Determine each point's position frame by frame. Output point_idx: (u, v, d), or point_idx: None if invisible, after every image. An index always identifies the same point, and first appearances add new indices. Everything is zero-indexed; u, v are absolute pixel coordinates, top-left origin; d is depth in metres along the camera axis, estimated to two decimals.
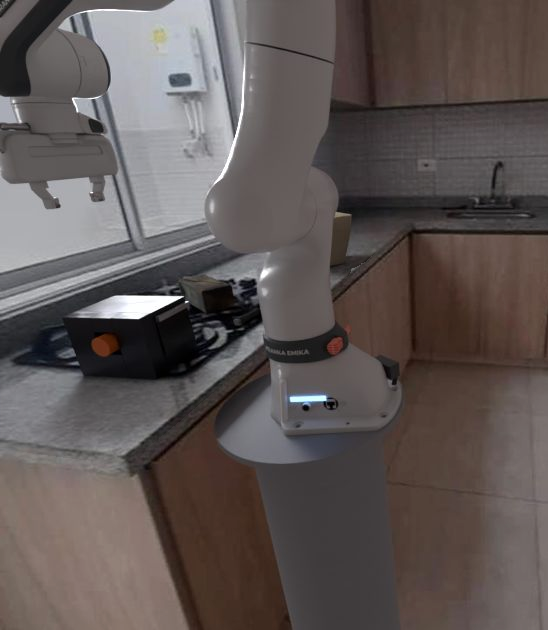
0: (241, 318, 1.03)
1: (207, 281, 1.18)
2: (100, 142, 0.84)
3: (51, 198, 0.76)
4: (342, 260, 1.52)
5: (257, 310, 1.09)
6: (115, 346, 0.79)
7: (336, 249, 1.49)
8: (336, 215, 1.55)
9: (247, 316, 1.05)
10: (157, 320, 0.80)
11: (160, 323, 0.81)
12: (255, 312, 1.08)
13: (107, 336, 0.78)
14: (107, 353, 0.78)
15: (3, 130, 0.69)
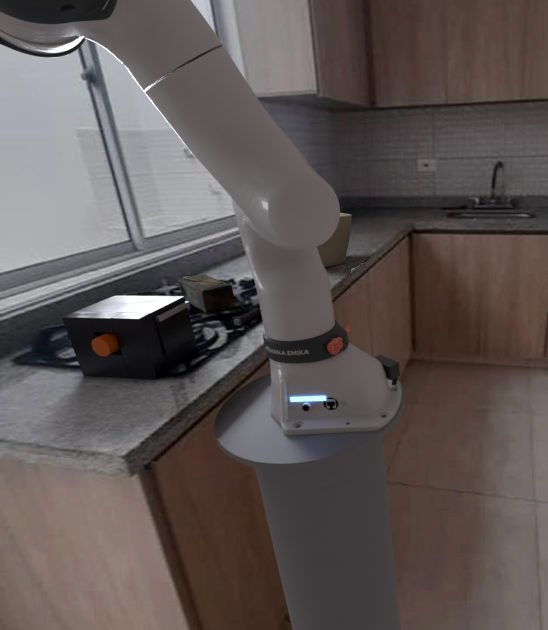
0: (241, 318, 1.03)
1: (207, 281, 1.18)
2: None
3: None
4: (342, 260, 1.52)
5: (257, 310, 1.09)
6: (115, 346, 0.79)
7: (336, 249, 1.49)
8: None
9: (247, 316, 1.05)
10: (157, 320, 0.80)
11: (160, 323, 0.81)
12: (255, 312, 1.08)
13: (107, 336, 0.78)
14: (107, 353, 0.78)
15: None
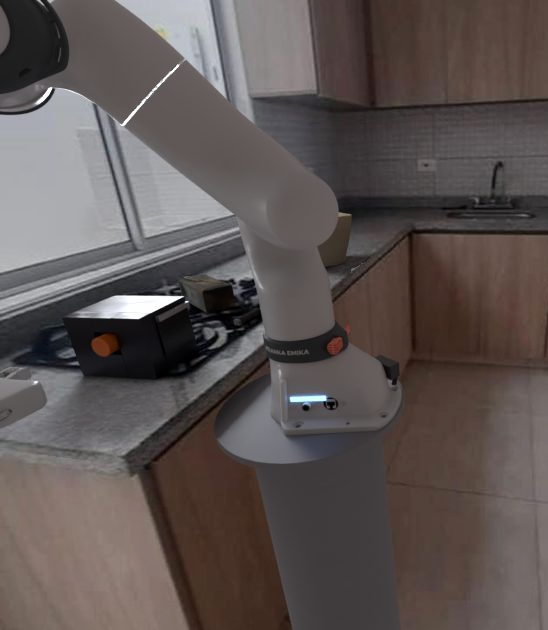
0: (241, 318, 1.03)
1: (208, 281, 1.18)
2: None
3: (14, 372, 0.63)
4: (342, 260, 1.52)
5: (257, 310, 1.09)
6: (115, 346, 0.79)
7: (336, 249, 1.49)
8: None
9: (247, 316, 1.05)
10: (157, 320, 0.80)
11: (160, 323, 0.81)
12: (255, 312, 1.08)
13: (107, 336, 0.78)
14: (107, 353, 0.78)
15: None
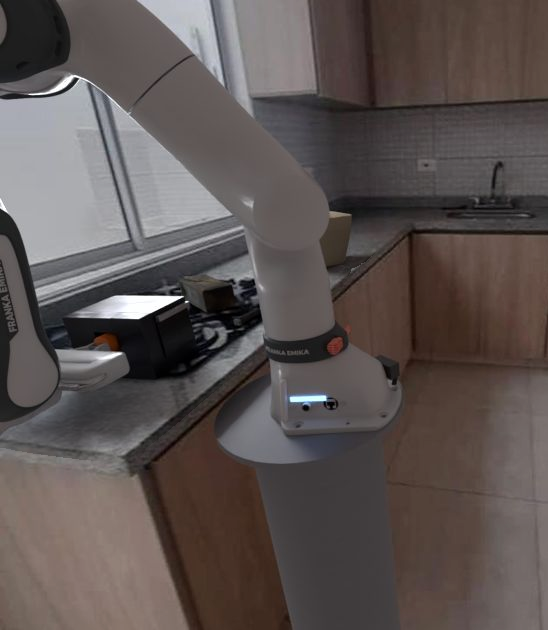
0: (241, 318, 1.03)
1: (208, 281, 1.18)
2: None
3: (98, 346, 0.76)
4: (342, 260, 1.52)
5: (257, 310, 1.09)
6: (117, 344, 0.79)
7: (336, 249, 1.49)
8: (336, 215, 1.55)
9: (247, 316, 1.05)
10: (157, 320, 0.80)
11: (160, 323, 0.81)
12: (255, 312, 1.08)
13: (109, 335, 0.79)
14: None
15: (79, 383, 0.65)
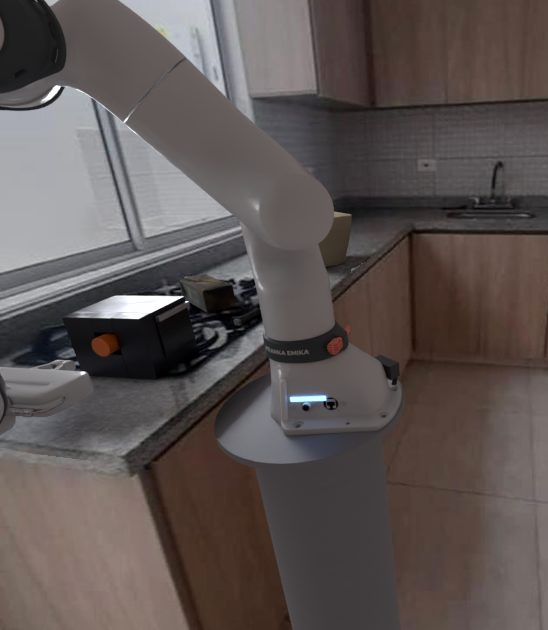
0: (241, 318, 1.03)
1: (208, 281, 1.18)
2: None
3: (61, 364, 0.70)
4: (342, 260, 1.52)
5: (257, 310, 1.09)
6: (115, 346, 0.79)
7: (336, 249, 1.49)
8: (336, 215, 1.55)
9: (247, 316, 1.05)
10: (157, 320, 0.80)
11: (160, 323, 0.81)
12: (255, 312, 1.08)
13: (107, 336, 0.78)
14: (107, 353, 0.78)
15: (34, 408, 0.59)
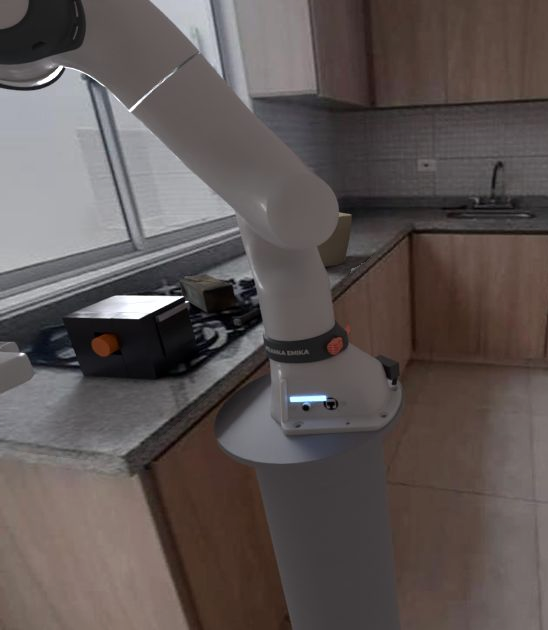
0: (241, 318, 1.03)
1: (208, 281, 1.18)
2: None
3: (1, 346, 0.61)
4: (342, 260, 1.52)
5: (257, 310, 1.09)
6: (115, 346, 0.79)
7: (336, 249, 1.49)
8: None
9: (247, 316, 1.05)
10: (157, 320, 0.80)
11: (160, 323, 0.81)
12: (255, 312, 1.08)
13: (107, 336, 0.78)
14: (107, 353, 0.78)
15: None
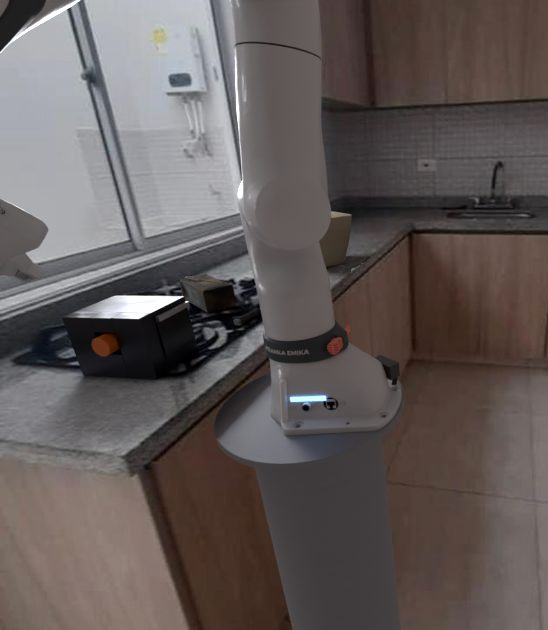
0: (241, 318, 1.03)
1: (208, 281, 1.18)
2: None
3: None
4: (342, 260, 1.52)
5: (257, 310, 1.09)
6: (115, 346, 0.79)
7: (336, 249, 1.49)
8: (336, 215, 1.55)
9: (247, 316, 1.05)
10: (157, 320, 0.80)
11: (160, 323, 0.81)
12: (255, 312, 1.08)
13: (107, 336, 0.78)
14: (107, 353, 0.78)
15: None
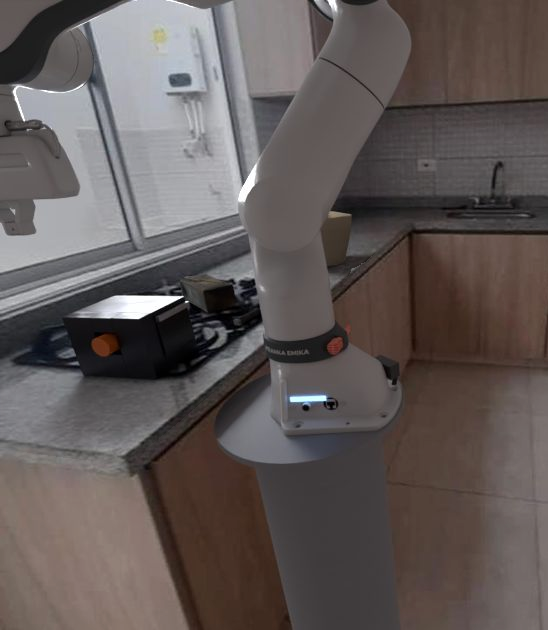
0: (241, 318, 1.03)
1: (208, 281, 1.18)
2: None
3: (31, 220, 0.59)
4: (342, 260, 1.52)
5: (257, 310, 1.09)
6: (115, 346, 0.79)
7: (336, 249, 1.49)
8: (336, 215, 1.55)
9: (247, 316, 1.05)
10: (157, 320, 0.80)
11: (160, 323, 0.81)
12: (255, 312, 1.08)
13: (107, 336, 0.78)
14: (107, 353, 0.78)
15: (41, 129, 0.53)
